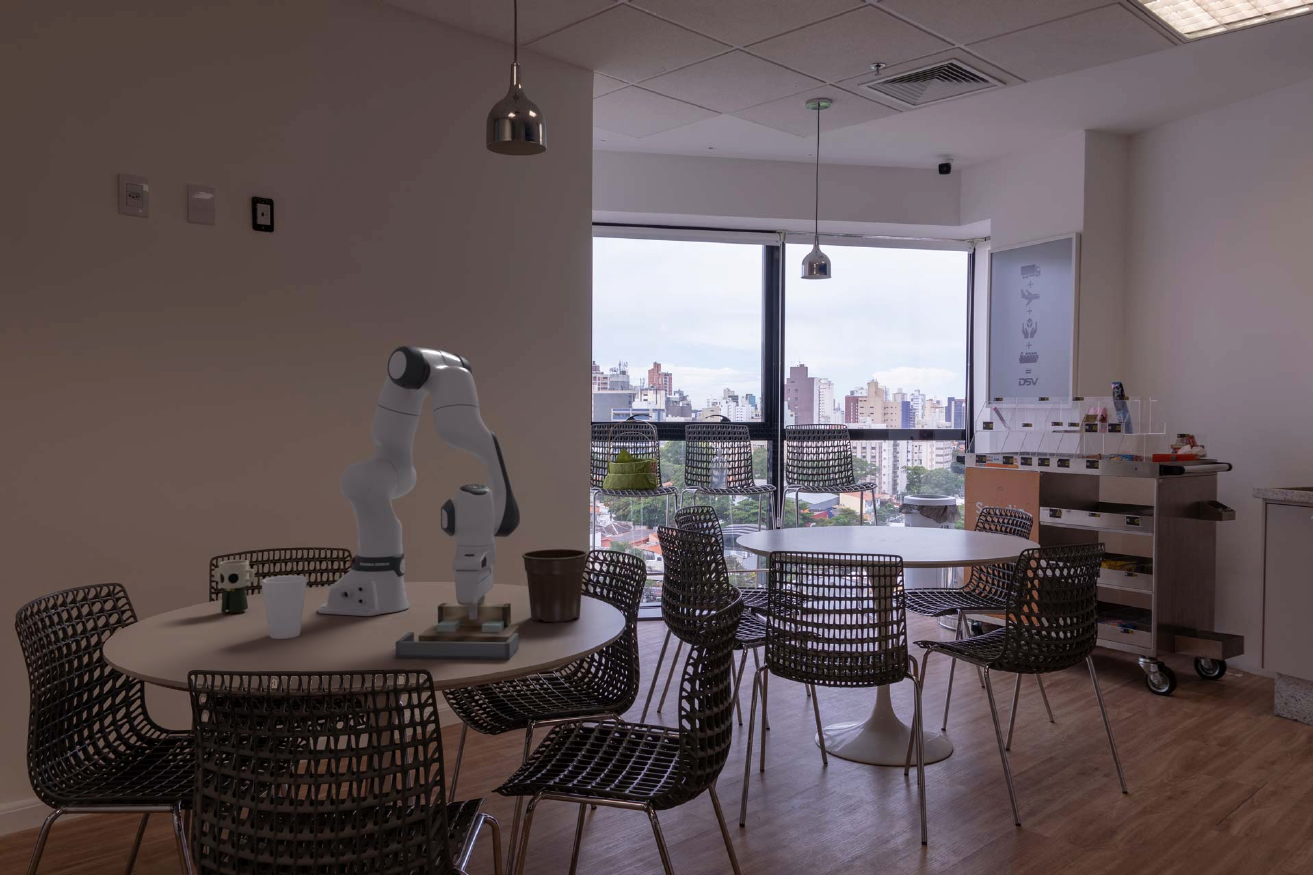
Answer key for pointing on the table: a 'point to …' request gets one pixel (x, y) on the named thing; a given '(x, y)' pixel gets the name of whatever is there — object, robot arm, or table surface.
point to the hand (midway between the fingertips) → (476, 616)
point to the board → (468, 634)
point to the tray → (455, 649)
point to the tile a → (448, 626)
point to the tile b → (492, 626)
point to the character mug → (234, 584)
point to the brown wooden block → (484, 613)
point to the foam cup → (284, 605)
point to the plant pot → (555, 583)
